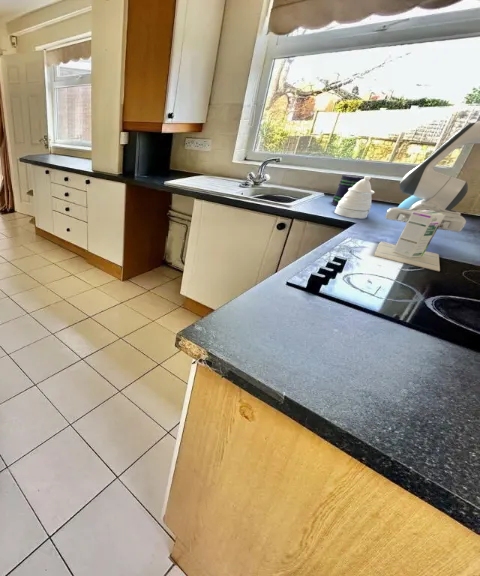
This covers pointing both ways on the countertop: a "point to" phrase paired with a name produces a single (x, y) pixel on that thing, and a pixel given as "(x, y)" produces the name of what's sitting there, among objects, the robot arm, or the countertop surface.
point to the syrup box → (418, 233)
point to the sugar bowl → (409, 202)
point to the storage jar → (345, 186)
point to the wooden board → (425, 261)
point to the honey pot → (356, 200)
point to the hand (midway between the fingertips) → (422, 222)
